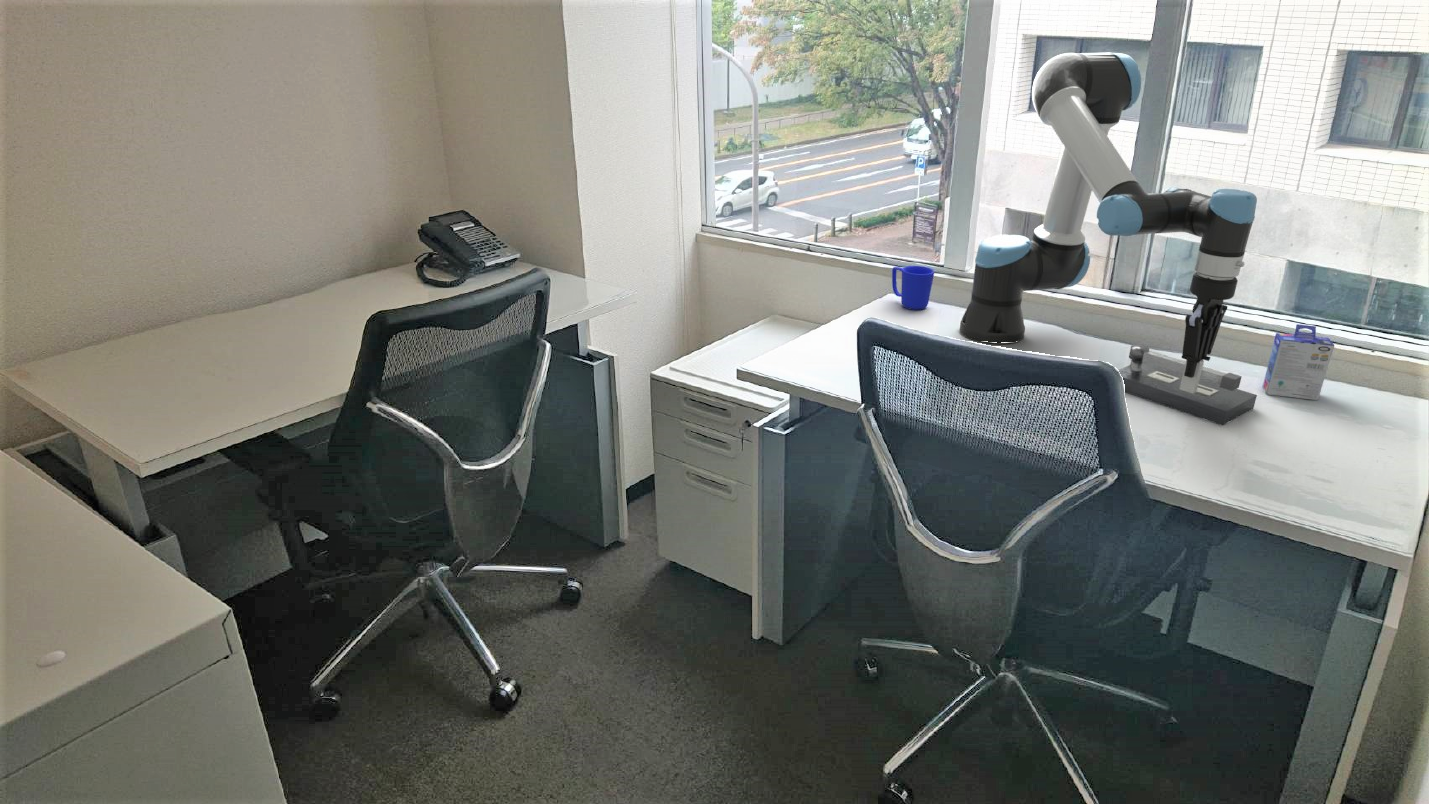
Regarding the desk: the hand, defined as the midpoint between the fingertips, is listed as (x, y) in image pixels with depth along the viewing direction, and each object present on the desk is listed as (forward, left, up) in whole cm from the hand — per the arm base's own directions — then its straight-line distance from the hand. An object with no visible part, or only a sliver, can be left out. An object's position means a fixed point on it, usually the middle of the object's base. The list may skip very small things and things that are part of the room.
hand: (1187, 390), depth 182 cm
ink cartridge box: (+9, +27, -5) cm, 29 cm away
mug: (-78, +8, -5) cm, 78 cm away
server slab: (-4, +6, -4) cm, 8 cm away
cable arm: (-5, +6, +1) cm, 8 cm away
